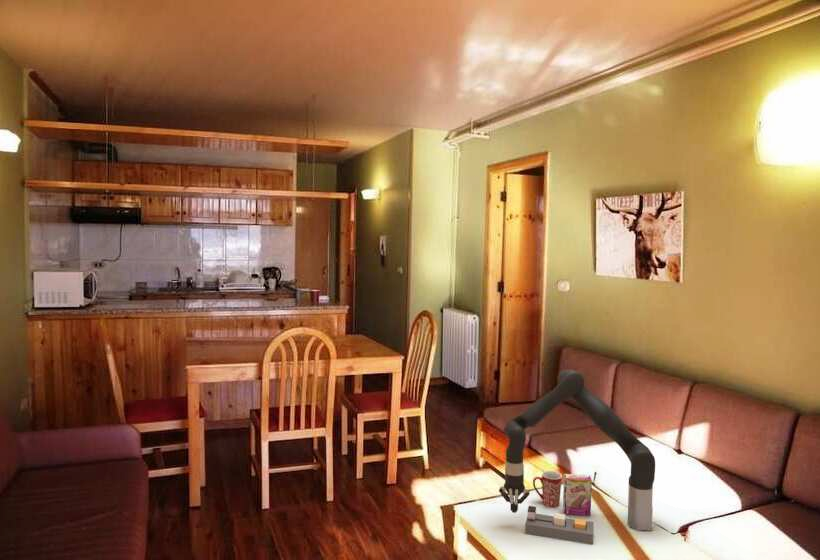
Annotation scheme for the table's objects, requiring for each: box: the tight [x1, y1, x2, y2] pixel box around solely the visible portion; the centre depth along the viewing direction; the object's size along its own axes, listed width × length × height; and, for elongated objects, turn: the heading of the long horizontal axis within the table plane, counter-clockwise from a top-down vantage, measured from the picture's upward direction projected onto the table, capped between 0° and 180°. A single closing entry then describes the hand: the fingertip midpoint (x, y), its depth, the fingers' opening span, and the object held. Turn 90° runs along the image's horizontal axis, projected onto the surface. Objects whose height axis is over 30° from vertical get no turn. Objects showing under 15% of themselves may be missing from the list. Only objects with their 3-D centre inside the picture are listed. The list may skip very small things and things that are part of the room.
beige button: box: [553, 512, 566, 527], centre depth 231 cm, size 4×4×3 cm
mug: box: [532, 470, 563, 508], centre depth 256 cm, size 13×9×14 cm
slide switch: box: [527, 505, 537, 520], centre depth 235 cm, size 3×4×6 cm
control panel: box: [524, 513, 594, 545], centre depth 232 cm, size 26×10×4 cm, turn 71°
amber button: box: [574, 518, 587, 530], centre depth 229 cm, size 4×4×3 cm
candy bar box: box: [562, 473, 593, 517], centre depth 247 cm, size 11×5×16 cm, turn 84°
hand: (514, 511), depth 237 cm, fingers closed
